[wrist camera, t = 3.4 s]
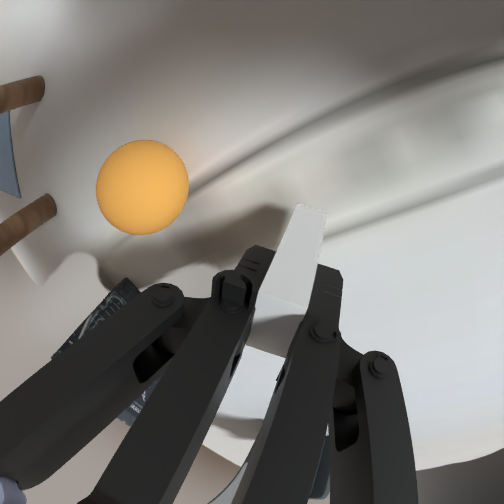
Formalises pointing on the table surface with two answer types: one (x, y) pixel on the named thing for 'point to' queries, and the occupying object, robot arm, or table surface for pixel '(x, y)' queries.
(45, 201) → the post
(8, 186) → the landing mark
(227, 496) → the grey curved piece
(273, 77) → the table surface
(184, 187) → the ball
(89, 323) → the box
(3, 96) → the post
